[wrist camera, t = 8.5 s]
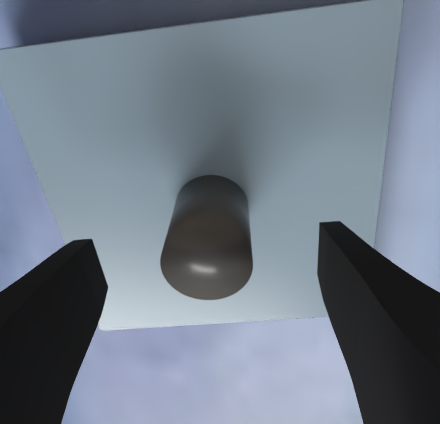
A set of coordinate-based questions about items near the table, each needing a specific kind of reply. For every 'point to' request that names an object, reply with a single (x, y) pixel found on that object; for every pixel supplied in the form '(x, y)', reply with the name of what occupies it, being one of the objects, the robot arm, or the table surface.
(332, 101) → the lid
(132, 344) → the table surface
